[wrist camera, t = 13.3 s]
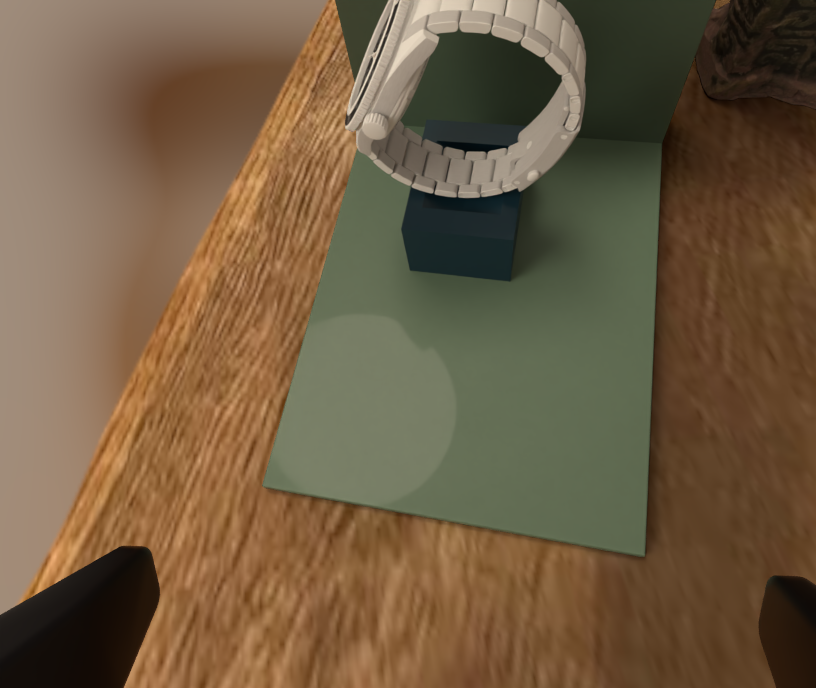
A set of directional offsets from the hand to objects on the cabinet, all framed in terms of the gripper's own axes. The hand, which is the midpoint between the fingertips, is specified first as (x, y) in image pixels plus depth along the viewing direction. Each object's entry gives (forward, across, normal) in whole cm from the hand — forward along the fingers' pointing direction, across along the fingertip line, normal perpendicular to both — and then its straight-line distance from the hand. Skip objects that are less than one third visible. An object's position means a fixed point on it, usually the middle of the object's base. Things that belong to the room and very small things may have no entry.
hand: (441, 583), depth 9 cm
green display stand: (+18, -1, 0) cm, 19 cm away
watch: (+20, 0, -2) cm, 20 cm away
